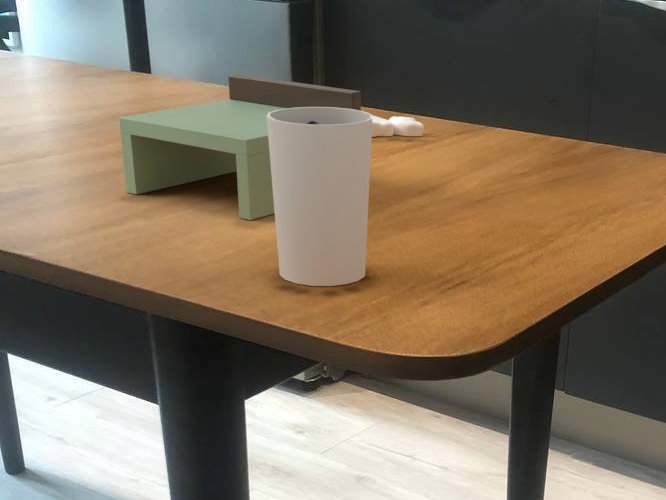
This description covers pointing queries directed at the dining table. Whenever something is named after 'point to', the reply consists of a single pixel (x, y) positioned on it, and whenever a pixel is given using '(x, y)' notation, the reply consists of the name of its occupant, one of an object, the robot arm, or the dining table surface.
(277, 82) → the desk
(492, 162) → the dining table surface
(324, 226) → the white cup
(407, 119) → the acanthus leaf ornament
